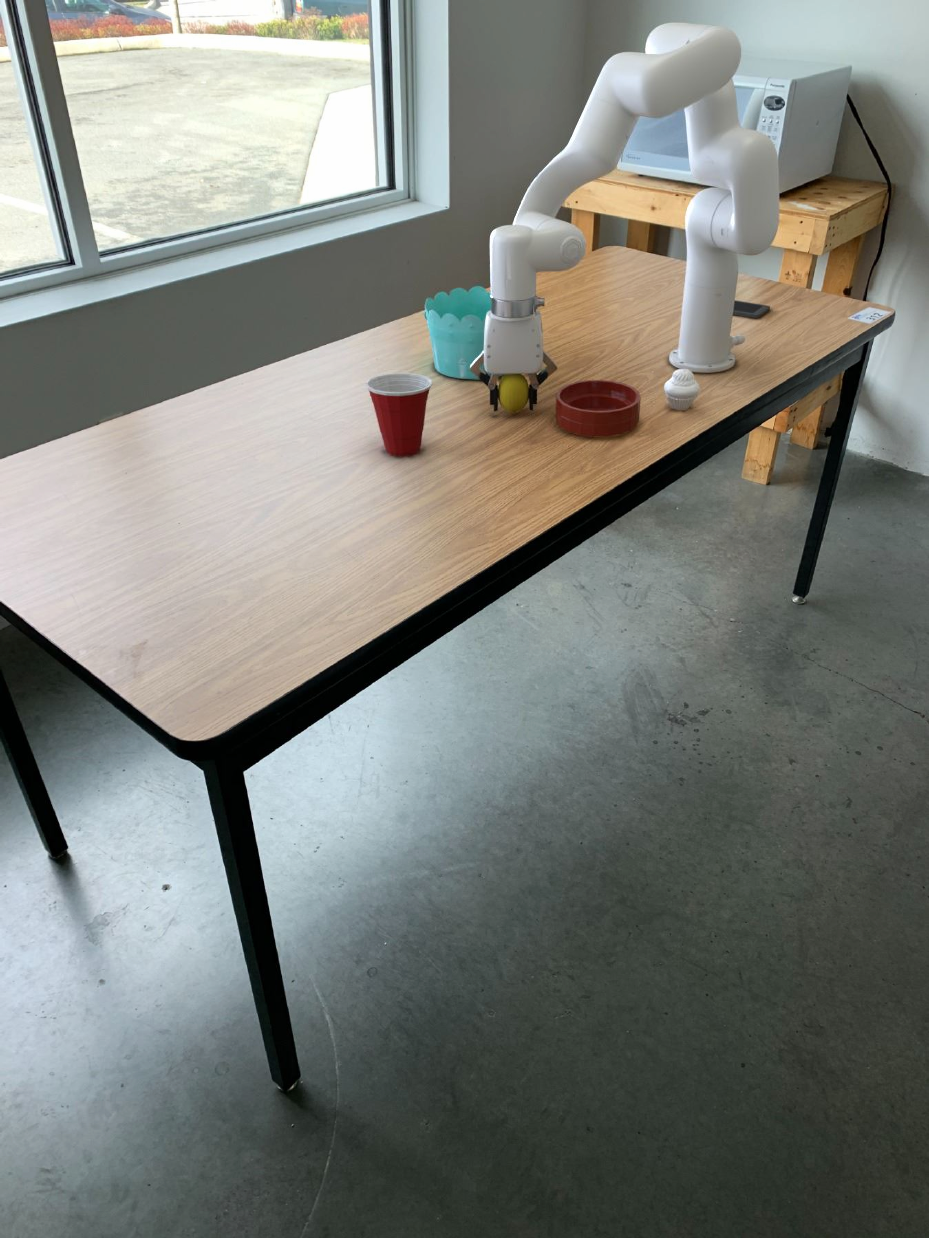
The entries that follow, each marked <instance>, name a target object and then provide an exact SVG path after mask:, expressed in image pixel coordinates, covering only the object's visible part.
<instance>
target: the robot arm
mask: <svg viewBox="0 0 929 1238" xmlns="http://www.w3.org/2000/svg"><path fill="white" fill-rule="evenodd" d="M644 50H645V52H638V51H637V52H635V51H623V52H622V51H621V52H619V53H615V54H614V55H612V56H611V57H610V58H609V59H608V60H607V61H606V62H605V63H604V65H603V67H602V69H601V71H600V73H599V76H598V77H597V79H596V82H595V84H594V86H593V88H592V91H591V93H590V95H589V97H588V100H587V102H586V103H585V106H584V109H583V111H582V113H581V115H580V118H579V120H578V122H577V124H576V126H575V129H574V131H573V133H572V136H571V137H570V139H569V141H568V143H567V145H566V146H565V147H564V149H562V151H560V152H559V153H558V154H557V155H556V156H554V157H553V158H552V160H550V161H549V163H548V164H547V165H546V166H545V167H544V168H543V169H542V170H541V171H540V172H539V173H538V174H537V176H536V177H535V178H534V179H533V181H532V182H531V183H530V185H529V186H528V188H527V190H526V192H525V194H524V195H523V198H522V200H521V203H520V205H519V208H518V210H517V212H516V215H515V217H514V220H513V222H512V224H506V225H501V226H498V227H496V228H495V229H493V230H492V232H491V233H490V237H489V261H490V262H489V263H490V264H489V267H490V268H489V273H490V275H489V276H490V281H489V283H490V290H491V310H490V311H488V312H487V315H486V320H485V330H484V350H483V351H482V353H481V354H480V355H479V356H478V357H477V358H476V359H475V360H474V362H473V363H472V364H471V365H470V371H471V372H472V373H473V374H475V375H476V376H477V377H479V380H480V381H481V382H482V383H483V384H484V385H485V386H486V387H487V389H488V390H489V406H493V412H498V411H499V399H498V387H499V384H498V379H499V377H500V376H499V374H505V375H506V374H522V375H527V376H528V379H529V383H528V386H529V400H528V410H529V411H530V412H534V405H538V389H539V388H540V386H541V385H542V384H543V383H544V382H545V381H546V380H547V379H548V377H550V376H551V375H552V374H554V373H555V372H556V371H557V370H558V363H557V362H556V361H555V360H554V359H553V358H552V357H551V356H550V355H549V353H548V352H547V351H546V350H545V349H544V335H543V334H544V333H543V331H544V330H543V322H542V316H541V311H539V308H540V307H545V305H546V303H545V301H546V299H545V297H541V296H539V295H537V273H543V272H544V273H545V272H546V273H547V272H549V273H551V272H556V273H557V272H566V271H568V270H571V269H573V268H575V267H576V266H578V265H579V263H581V262H582V260H583V259H584V256H585V255H586V252H587V239H586V237H585V234H584V233H583V231H582V230H581V229H580V228H579V227H577V226H576V225H574V224H573V223H570V222H567V221H565V220H561V219H558V218H556V217H557V214H558V213H559V210H560V209H561V208H562V205H563V204H564V203H565V202H566V201H567V199H568V198H569V197H570V196H571V195H572V194H573V193H574V192H575V191H577V190H578V189H580V188H581V187H583V186H584V185H587V184H589V183H591V182H594V181H596V180H599V179H600V178H603V177H604V176H605V177H606V176H607V175H609V174H611V173H612V172H613V171H614V170H615V169H616V168H617V166H618V164H619V163H620V160H621V158H622V155H623V153H624V151H625V148H626V147H627V144H628V142H629V140H630V138H631V136H632V135H633V134H632V133H633V131H634V129H635V127H636V126H637V123H638V121H639V119H640V117H643V118H648V119H649V118H650V119H662V118H665V117H668V116H671V115H674V114H676V113H678V112H680V111H682V110H683V111H684V118H685V128H686V140H687V152H688V153H687V155H688V163H689V170H690V173H691V175H692V177H693V178H694V179H695V180H696V181H697V182H699V183H701V184H703V185H706V186H711V187H707V188H705V189H702V190H701V191H698V192H697V193H696V194H695V195H694V196H693V197H692V198H691V200H690V201H689V204H688V205H687V208H686V212H685V217H684V227H685V229H684V230H685V238H686V239H685V240H686V264H685V265H686V267H685V275H684V277H685V278H684V285H683V286H684V287H683V294H682V295H683V296H682V307H681V318H680V325H679V326H680V327H679V338H678V347H677V348H675V349H673V350H671V352H670V353H669V356H668V362H669V363H670V364H671V365H672V366H674V367H675V368H677V369H688V370H690V371H691V372H692V373H701V374H703V373H704V374H710V373H711V374H712V373H720V372H723V371H727V370H729V369H731V368H732V367H734V365H736V356H735V355H734V353H733V352H732V349H734V347H736V346H739V345H742V344H744V343H745V339H746V338H745V336H744V334H743V333H739V334H736V335H733V336H732V335H731V332H732V331H731V330H732V324H733V316H734V314H733V309H734V301H735V300H736V293H737V285H738V279H739V278H738V277H739V258H738V254H739V255H743V256H750V257H751V256H757V255H760V254H762V253H764V252H766V251H767V250H768V249H769V248H770V247H771V245H772V244H773V242H774V240H775V238H776V236H777V233H778V229H779V225H780V175H779V174H780V173H779V172H780V171H779V170H780V169H779V168H780V167H779V156H778V151H777V147H776V145H775V144H774V142H773V140H772V139H771V138H770V136H768V135H767V134H766V133H764V132H761V131H759V130H756V129H749V128H745V127H743V126H742V125H741V124H740V120H739V112H738V102H737V93H736V92H737V91H736V86H735V83H734V79H733V77H734V76H735V74H736V72H737V71H738V69H739V66H740V64H741V59H742V46H741V42H740V39H739V37H738V36H737V34H736V33H735V32H734V31H733V30H732V29H730V28H728V27H726V26H722V25H716V24H702V23H693V22H677V21H676V22H674V21H672V22H665V23H662V24H660V25H658V26H656V27H655V28H653V29H652V30H651V32H650V33H649V35H648V36H647V38H646V42H645V49H644ZM483 363H484V367H485V371H486V372H488V373H490V376H489V375H488V374H487V373H486V372H485V371H483V370H482V369H481V368H480V366H481V365H482V364H483ZM544 365H546V367H545V368H544V369H543V366H544Z"/></svg>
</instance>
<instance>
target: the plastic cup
mask: <svg viewBox="0 0 929 1238" xmlns="http://www.w3.org/2000/svg"><path fill="white" fill-rule="evenodd" d="M433 383H434V381H433V380H432V378H430V377H429V376H425V375H423V374H418V373H412V372H391V373H384V374H379V375H375V376H373V377H371V378H368V379H367V380H366V381H365V383H364V385H365V387H366V389H367V391H368V392H369V396H370V399H371V401H372V402H371V403H372V404H373V409H374V412H375V416H376V421H377V424H378V428H379V432H380V434H381V437H382V438H381V439H382V441H383V445H384V448H385V451H386V453H387V454H388V455H390V456H393V457H396V458H397V457H400V458H404V457H411V456H414V455H417V454H418V453H419V452H420V450H421V447H422V440H423V432H424V429H425V428H424V427H425V419H426V410H427V402H428V398H429V395H430V394H429V393H430V389H431V388H432V386H433Z"/></svg>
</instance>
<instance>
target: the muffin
mask: <svg viewBox="0 0 929 1238" xmlns="http://www.w3.org/2000/svg"><path fill="white" fill-rule="evenodd" d="M663 390H664V394H665V397H666V400H667V401H668V404H669V406H670V408H671V409H673V410H675V411H686V410H688V409H689V408H691V405H693V402H694V401H695V400H696V398H697V397H698V394H699V392H700V385H699V384H698V382H697V381H696V379H695V377H694V372H691V371H690V370H688V369H679V368H677V369H676V370H675V371H674V372H672V376H671V377H670V379H668V380H667V381H666V382H665V383H664V387H663Z"/></svg>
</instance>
